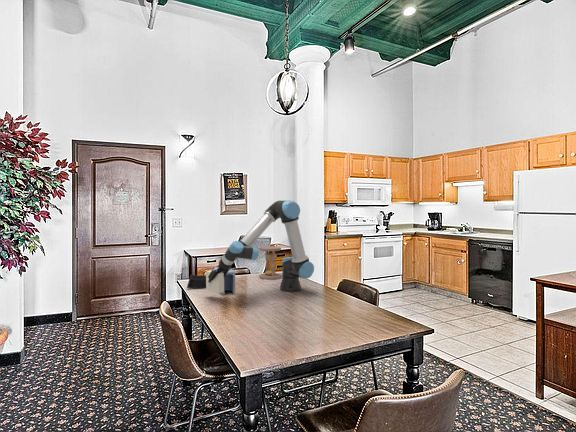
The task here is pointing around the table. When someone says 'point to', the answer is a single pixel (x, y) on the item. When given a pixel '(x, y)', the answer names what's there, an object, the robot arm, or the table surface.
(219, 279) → the tile
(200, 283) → the magazine
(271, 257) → the hourglass
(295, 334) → the table surface
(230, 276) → the housing
